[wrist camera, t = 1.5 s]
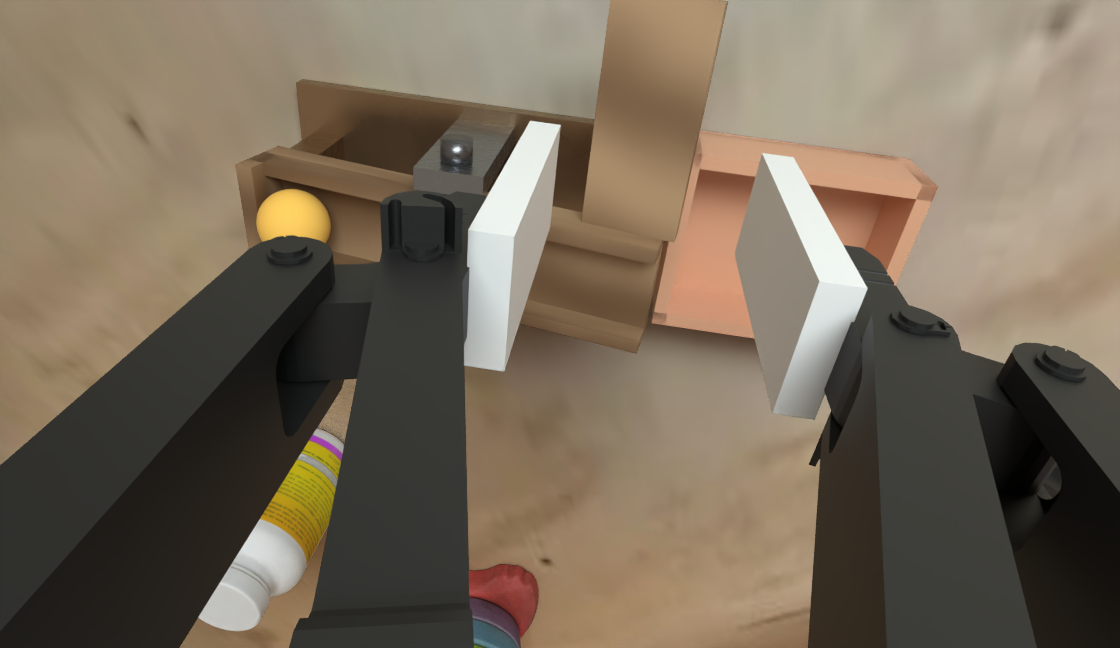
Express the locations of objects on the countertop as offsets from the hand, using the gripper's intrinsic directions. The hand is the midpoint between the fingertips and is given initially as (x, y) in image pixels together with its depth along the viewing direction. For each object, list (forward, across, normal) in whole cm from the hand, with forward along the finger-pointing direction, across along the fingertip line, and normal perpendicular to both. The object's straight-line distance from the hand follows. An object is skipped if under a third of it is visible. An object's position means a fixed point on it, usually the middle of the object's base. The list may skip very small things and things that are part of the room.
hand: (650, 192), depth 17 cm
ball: (+11, +15, +8) cm, 20 cm away
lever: (+12, +7, +3) cm, 15 cm away
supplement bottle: (+19, +20, +31) cm, 41 cm away
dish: (+19, -8, +8) cm, 22 cm away
